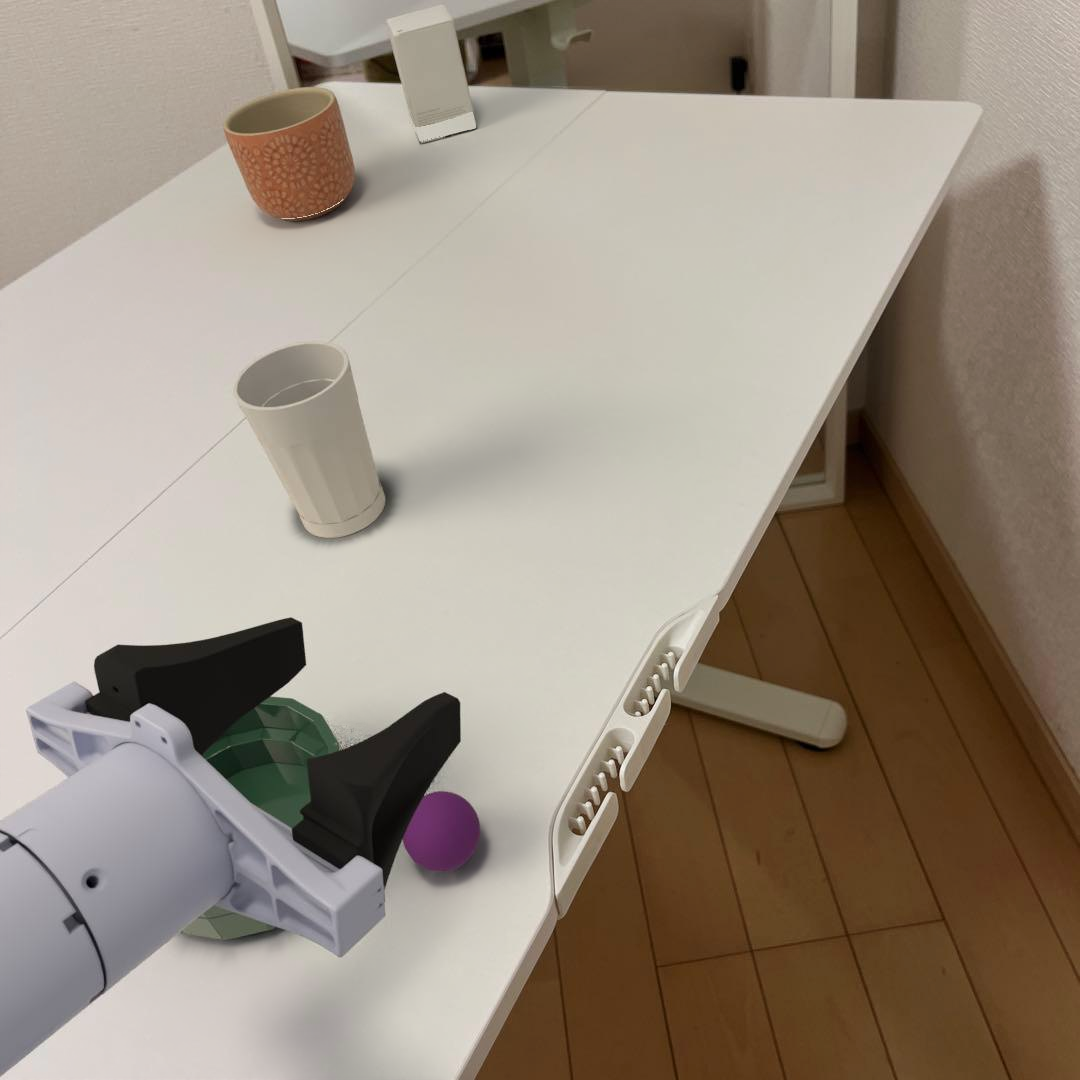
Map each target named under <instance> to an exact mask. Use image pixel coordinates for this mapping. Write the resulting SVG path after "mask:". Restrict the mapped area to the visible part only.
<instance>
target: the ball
mask: <svg viewBox="0 0 1080 1080" xmlns="http://www.w3.org/2000/svg"><path fill="white" fill-rule="evenodd" d="M480 837H481V823H480V819H479V816H478V813H477V811H476V810H475V808H474V807H473V806H472V804H471V803H470V802H469V801H468V800H467V799H466V798H464V797H463V796H461V795H459V794H457V793H455V792H451V791H445V790H444V791H443V790H439V791H433V792H430V793H427V794H425V795H424V797H423V798H422V800H421V802H420V804H419V806H418V808H417V809H416V811H415V813H414V815H413V817H412V819H411V821H410V823H409V826H408V828H407V830H406V832H405V834H404V837H403V839H402V843H403V846H404V849H405V850H406V852H407V854H408V855H409V857H410V859H412V861H414V863H416V864H417V865H418V866H419V867H421V868H424V869H425V870H428V871H432V872H437V873H441V872H450V871H452V870H456V869H458V868H459V867H461V866H463V865H464V864H466V863H467V862H468V861H469V860H470V859H471V858H472V857H473V855H474V854H475V852H476V850H477V848H478V845H479V843H480Z"/></svg>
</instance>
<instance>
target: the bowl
mask: <svg viewBox="0 0 1080 1080" xmlns="http://www.w3.org/2000/svg"><path fill="white" fill-rule="evenodd" d="M342 749H343V748H342V747H341V745H340V743H339V741H338V739H337V738H336V736H335V734H334V732H333V730H332V729H331V727H330V725H329V724H328V722H327V720H326V719H325V717H324V715H323V714H321V713H319V712H317V711H316V710H314V709H312V708H311V707H309V706H307V705H305V704H303V703H302V702H300V701H299V700H296V699H294V698H291V697H283V696H282V697H281V696H273V695H272V696H270V697H269V698H267V699H266V700H265V701H263V702H262V703H261V704H259V705H258V706H256V707H255V708H254V709H252V710H251V711H250V712H248V713H247V714H245V715H244V716H243V717H242V718H240V719H239V720H238V721H237V722H236V723H234V724H233V725H232V726H231V727H230V728H229V729H228V730H227V731H226V732H225V733H224V734H222V735H221V736H220V737H219V738H218V739H217V740H216V741H215V742H214V743H213V744H212V745H211V746H210V747H209V748H208V749H207V750H206V751H205V752H204V754H203V755H202V757H203V758H204V759H205V760H206V761H207V762H208V763H209V764H210V765H212V766H213V767H214V768H215V769H216V770H217V771H218V772H219V773H220V774H221V775H222V776H223V777H224V778H225V779H226V780H227V781H228V782H229V783H230V784H231V785H232V786H233V787H235V788H236V789H237V790H238V791H239V792H240V793H241V794H242V795H243V796H244V797H245V798H246V799H247V800H248V801H249V802H250V803H252V804H253V805H255V806H257V807H258V808H260V809H262V810H263V811H265V812H266V813H268V814H270V815H271V816H273V817H274V818H276V819H278V820H279V821H281V822H283V823H284V824H286V825H287V826H289V827H291V828H293V827H294V826H296V825H297V824H298V823H299V822H301V821H302V820H303V815H302V814H300V810H301V809H302V808H303V807H304V806H305V805H307V804H308V803H309V802H310V801H311V798H310V788H309V779H308V770H307V759H308V758H314V757H318V756H322V755H326V754H330V753H333V752H336V751H339V750H342ZM275 928H276V927H275V926H272V925H270V924H267V923H264V922H261V921H258V920H255V919H252V918H249V917H247V916H244V915H241V914H238V913H235V912H232V911H229V910H226V909H223V908H221V907H218V906H215V905H213V906H212V907H210V908H209V909H208V910H207V911H205V912H204V913H203V914H202V915H201V916H199V917H198V918H197V919H196V920H194V921H193V922H192V923H191V924H189V925H188V926H187V927H186V928H184V929H183V930H182V931H181V932H180V933H183V934H187V935H191V936H192V935H193V936H198V937H203V938H209V939H215V940H222V941H224V940H225V941H228V940H231V939H232V940H233V939H236V938H241V937H245V936H249V935H250V936H251V935H253V934H258V933H262V932H263V933H264V932H266V931H270V930H274V929H275Z"/></svg>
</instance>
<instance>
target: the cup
mask: <svg viewBox="0 0 1080 1080" xmlns="http://www.w3.org/2000/svg"><path fill="white" fill-rule="evenodd" d="M356 387H357V386H356V382H355V378H354V375H353V371H352V366H351V363H350V359H349V355H348V353H347V352H346V350H345V349H344V348H342V347H341V346H339V345H338V344H335V343H332V342H329V341H322V340H309V341H300V342H295V343H290V344H286V345H283V346H280V347H278V348H275V349H272V350H270V351H268V352H266V353H264V354H262V355H261V356H259V357H256V359H254V360H252V361H251V362H250V363H248V364H247V365H246V366H245V367H244V368H243V369H242V371H240V372H239V374H238V375H237V376H236V378H235V380H234V382H233V385H232V395H233V398H234V399H235V401H236V403H237V404H238V407H239V408H240V410H241V412H242V413H243V415H244V417H245V419H246V421H247V422H248V424H249V426H250V428H251V430H252V431H253V433H254V435H255V437H256V438H257V440H258V443H259V444H260V447H262V450H263V451H264V453H265V455H266V457H267V458H268V460H269V462H270V464H271V466H272V467H273V469H274V471H275V473H276V475H277V477H278V479H279V480H280V482H281V484H282V486H283V488H284V489H285V491H286V493H287V495H288V497H289V499H290V501H291V502H292V505H293V506H294V508H295V509H296V511H297V513H298V515H299V519H300V520H301V523H302V525H303V527H304V528H305V530H306V531H307V532H308V533H309V534H311V535H313V536H315V537H319V538H326V539H335V538H342V537H346V536H350V535H353V534H355V533H357V532H360V531H362V530H363V529H365V528H367V527H369V526H370V525H371V524H372V523H374V522H375V521H376V520H377V519H378V517H380V516H381V514H382V512H383V511H384V508H385V506H386V495H385V492H384V489H383V487H382V483H381V481H380V479H379V476H378V472H377V467H376V464H375V463H376V462H375V460H374V456H373V452H372V449H371V448H372V447H371V445H370V441H369V438H368V437H369V436H368V432H367V430H366V425H365V421H364V418H363V414H362V410H361V406H360V402H359V396H358V392H357V388H356Z"/></svg>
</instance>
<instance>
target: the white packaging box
mask: <svg viewBox="0 0 1080 1080" xmlns="http://www.w3.org/2000/svg"><path fill="white" fill-rule="evenodd" d="M385 24H386V28H387V32H388V37H389V40H390V45H391V48H392V52H393V57H394V61H395V64H396V68H397V72H398V75H399V79H400V84H401V87H402V91H403V95H404V100H405V102H406V103H405V104H406V106H407V110H409V111H408V114H410V115H409V118H410V117H411V119H412V121H413V124H414V125H415V127H421V126H426V125H431V124H435V123H439V122H442V121H445V120H448V119H453V118H455V117H457V116H461V115H463V114H466V113H469V112H473V111H474V106H473V103H472V98H471V94H470V88H469V85H468V80H467V76H466V72H465V71H466V70H465V66H464V62H463V58H462V53H461V49H460V44H459V39H458V35H457V31H456V26H455V21H454V18H453V16H452V15H451V13H450V12H449V10H448V8H447V7H446V5H445V4H444V3H442V4H439V5H438V4H437V5H434V6H430V7H427V8H426V7H425V8H422V9H419V10H415V11H412V12H409V13H405V14H401V15H398V16H394V17H391V18H387V19H386V20H385ZM411 119H410V120H411ZM453 134H454V133H453ZM440 139H444V138H443V137H441V138H440V136H439V138H437V139H436V137H435V139H432V138H431V140H429V141H428V139H427V141H426V140H425V142H424V140H423V142H422V141H421V143H420V144H424V143H428V142H432V141H437V140H440Z"/></svg>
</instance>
